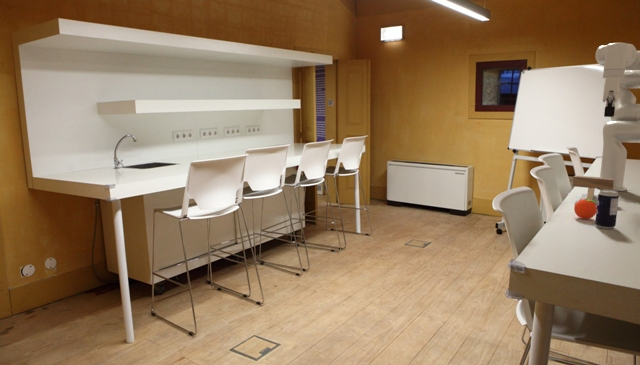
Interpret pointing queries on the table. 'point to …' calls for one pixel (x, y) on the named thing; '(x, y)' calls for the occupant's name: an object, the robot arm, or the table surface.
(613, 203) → the beverage can
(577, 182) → the walnut rod
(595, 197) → the ridge stand
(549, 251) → the table surface
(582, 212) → the tomato
